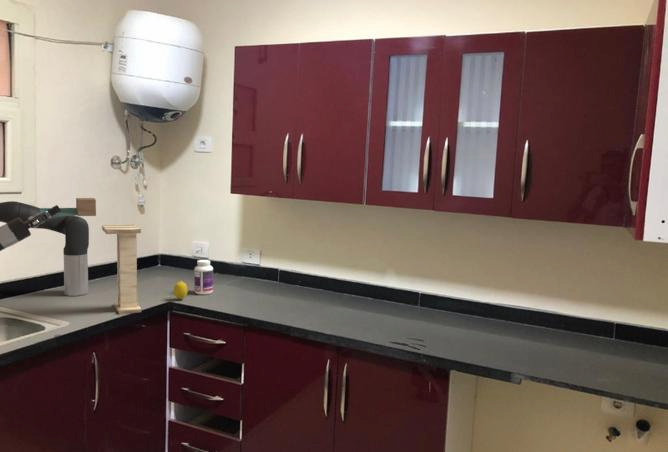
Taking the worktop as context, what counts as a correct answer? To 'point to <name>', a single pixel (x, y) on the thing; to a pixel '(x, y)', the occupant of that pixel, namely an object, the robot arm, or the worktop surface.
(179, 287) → the lemon
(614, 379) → the worktop surface
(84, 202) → the mallet
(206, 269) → the pill bottle
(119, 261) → the stand
